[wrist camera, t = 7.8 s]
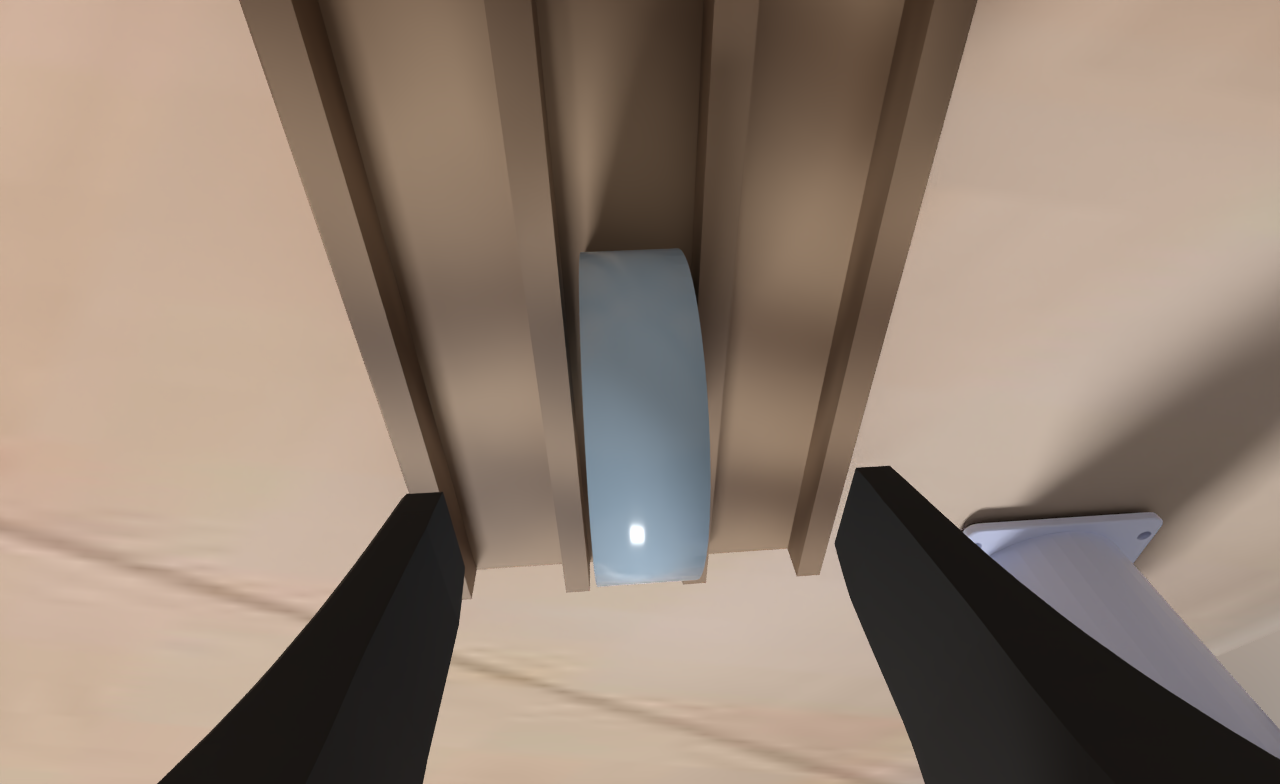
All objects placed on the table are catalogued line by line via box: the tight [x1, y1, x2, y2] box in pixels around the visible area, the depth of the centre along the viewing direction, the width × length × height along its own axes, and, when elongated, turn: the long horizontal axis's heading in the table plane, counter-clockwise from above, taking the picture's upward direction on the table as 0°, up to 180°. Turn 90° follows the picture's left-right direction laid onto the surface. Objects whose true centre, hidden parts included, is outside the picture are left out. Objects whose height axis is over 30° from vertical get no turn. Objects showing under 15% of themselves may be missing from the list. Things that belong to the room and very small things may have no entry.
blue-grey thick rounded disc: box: [579, 248, 711, 587], centre depth 13 cm, size 7×2×7 cm, turn 0°
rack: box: [239, 0, 977, 600], centre depth 16 cm, size 19×14×2 cm
